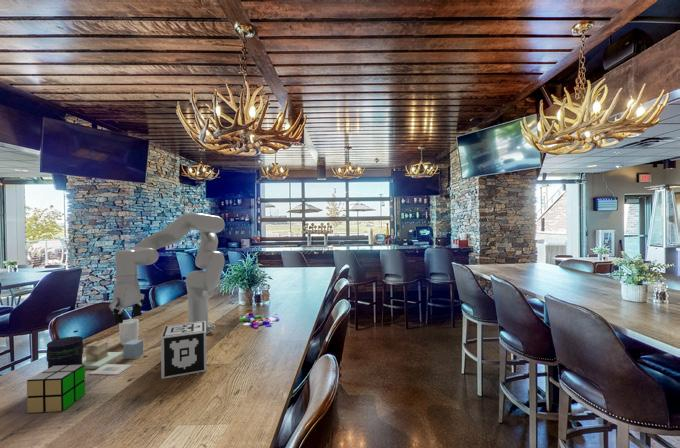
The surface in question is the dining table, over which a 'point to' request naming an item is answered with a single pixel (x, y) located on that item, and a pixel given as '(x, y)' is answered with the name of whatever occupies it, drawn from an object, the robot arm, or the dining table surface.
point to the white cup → (128, 330)
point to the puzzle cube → (55, 388)
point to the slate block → (133, 349)
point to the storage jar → (65, 351)
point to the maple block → (96, 350)
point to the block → (183, 349)
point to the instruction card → (111, 369)
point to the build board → (103, 361)
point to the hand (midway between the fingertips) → (128, 319)
